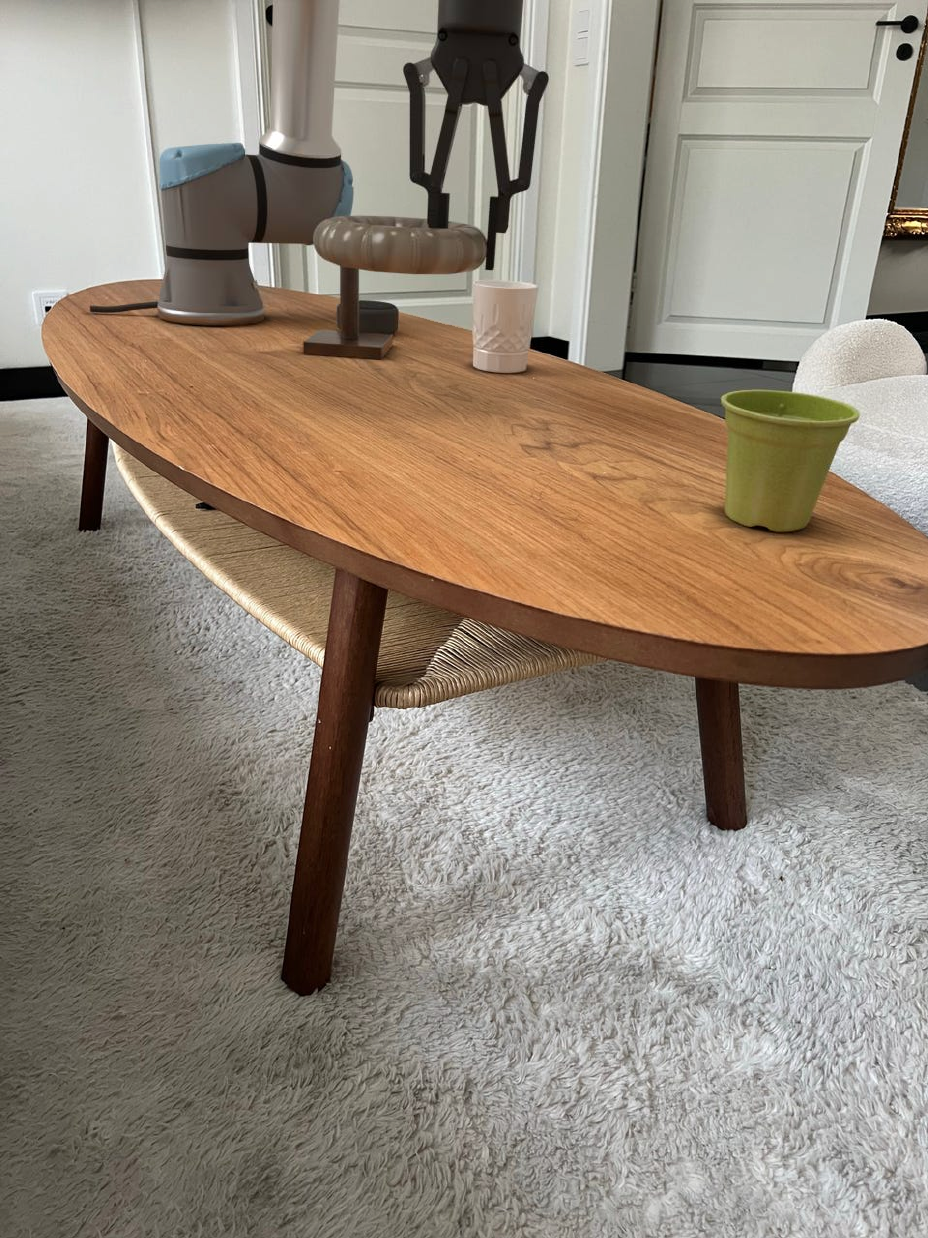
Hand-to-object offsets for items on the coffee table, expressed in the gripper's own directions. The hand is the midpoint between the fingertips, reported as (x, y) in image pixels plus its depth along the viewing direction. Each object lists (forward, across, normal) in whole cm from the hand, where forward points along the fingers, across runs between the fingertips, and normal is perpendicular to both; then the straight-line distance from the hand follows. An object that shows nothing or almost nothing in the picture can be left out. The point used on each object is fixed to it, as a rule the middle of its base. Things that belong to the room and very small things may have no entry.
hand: (465, 266), depth 90 cm
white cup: (+14, +4, +20) cm, 24 cm away
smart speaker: (+14, -16, +39) cm, 44 cm away
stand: (+14, -16, +25) cm, 33 cm away
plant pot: (+13, +26, -30) cm, 42 cm away
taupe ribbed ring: (-2, -6, 0) cm, 7 cm away
